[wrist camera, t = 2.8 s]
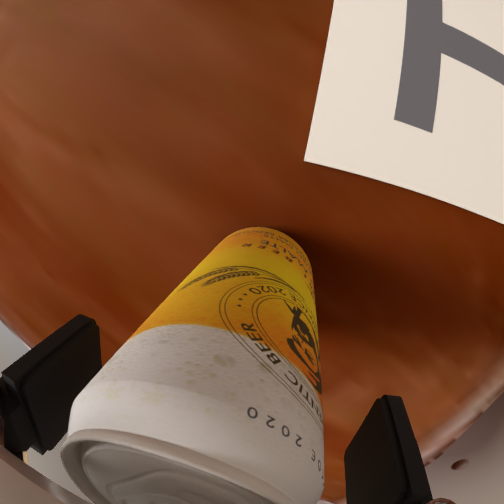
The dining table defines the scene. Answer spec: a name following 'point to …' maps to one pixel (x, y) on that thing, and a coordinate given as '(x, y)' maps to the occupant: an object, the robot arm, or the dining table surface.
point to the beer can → (211, 389)
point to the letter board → (416, 98)
